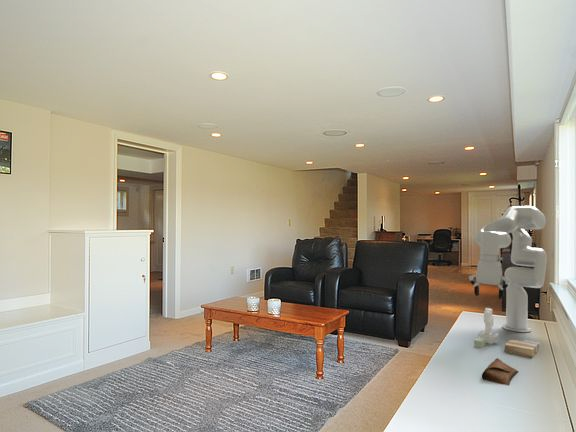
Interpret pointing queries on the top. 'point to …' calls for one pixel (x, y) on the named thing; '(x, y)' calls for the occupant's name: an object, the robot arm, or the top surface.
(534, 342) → the brick slate
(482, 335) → the figurine
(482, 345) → the brick sage
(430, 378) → the top surface
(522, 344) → the oak pedestal
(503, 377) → the sunglasses case
